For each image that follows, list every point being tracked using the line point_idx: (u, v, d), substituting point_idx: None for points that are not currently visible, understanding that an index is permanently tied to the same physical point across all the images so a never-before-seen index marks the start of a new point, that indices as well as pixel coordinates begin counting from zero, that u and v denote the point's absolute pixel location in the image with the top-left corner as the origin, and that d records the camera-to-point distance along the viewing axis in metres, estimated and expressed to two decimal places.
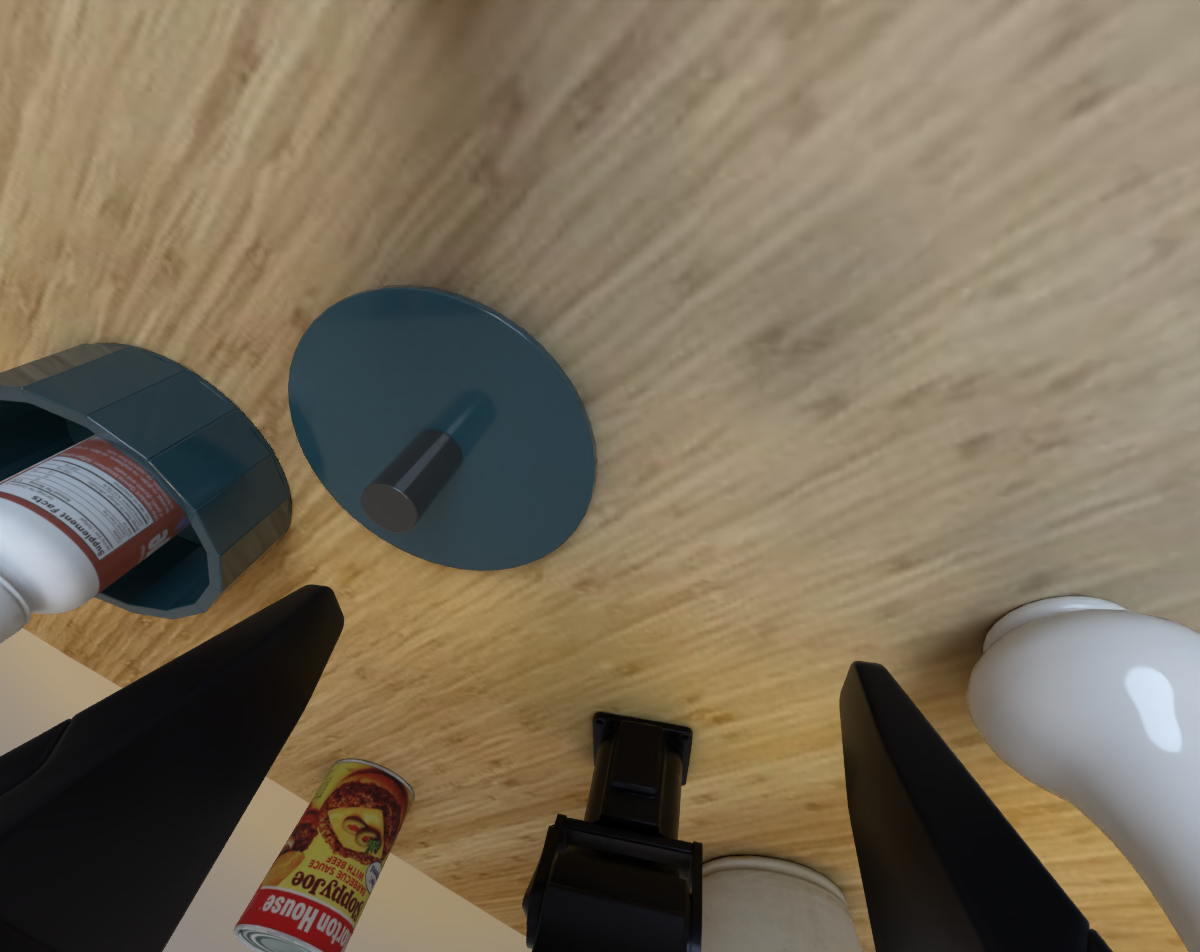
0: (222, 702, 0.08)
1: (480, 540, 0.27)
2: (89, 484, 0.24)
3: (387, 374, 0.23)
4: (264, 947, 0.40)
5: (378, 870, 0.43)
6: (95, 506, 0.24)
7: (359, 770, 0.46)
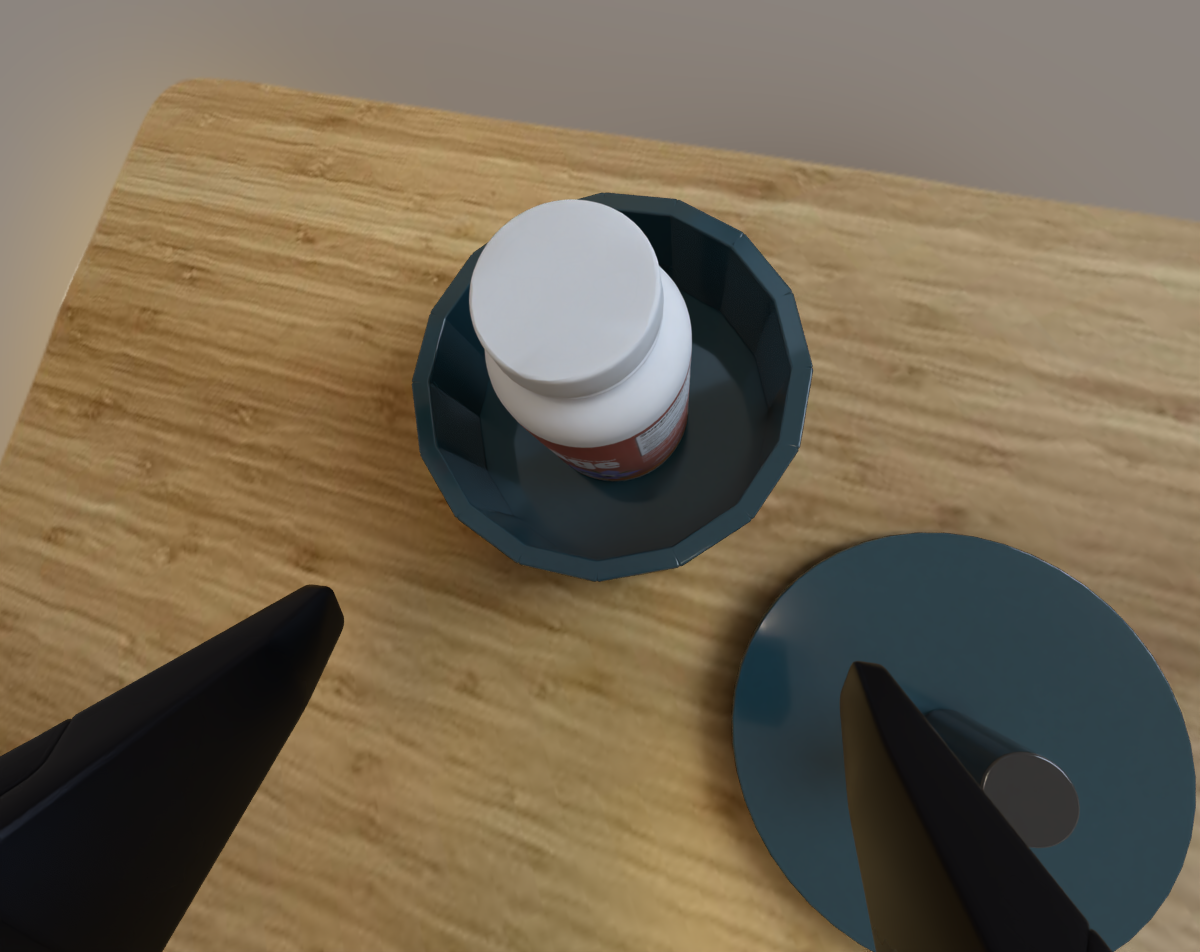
0: (222, 702, 0.08)
1: (848, 858, 0.19)
2: (689, 380, 0.18)
3: (1008, 645, 0.19)
4: None
5: None
6: (682, 401, 0.17)
7: None
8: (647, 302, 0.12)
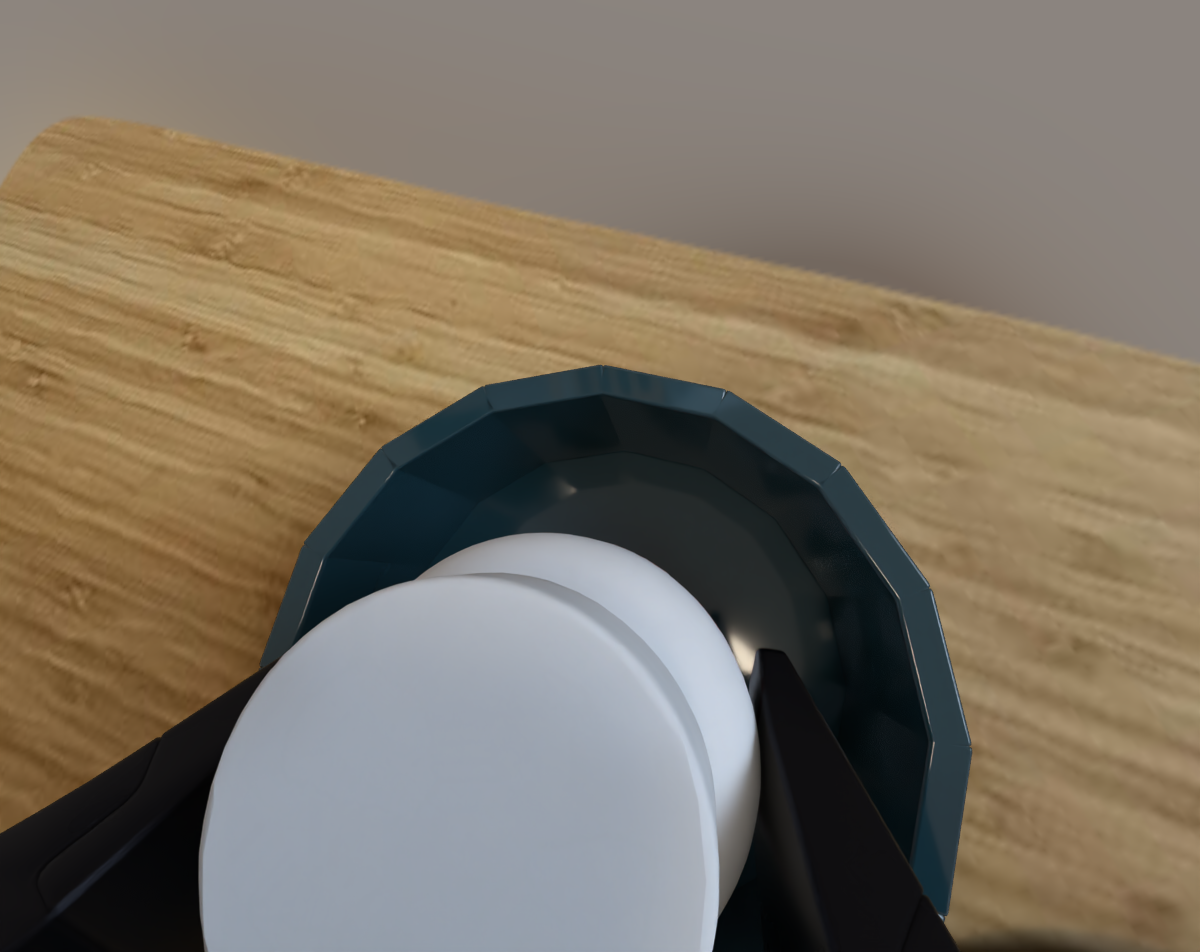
0: None
1: None
2: None
3: None
4: None
5: None
6: None
7: None
8: None
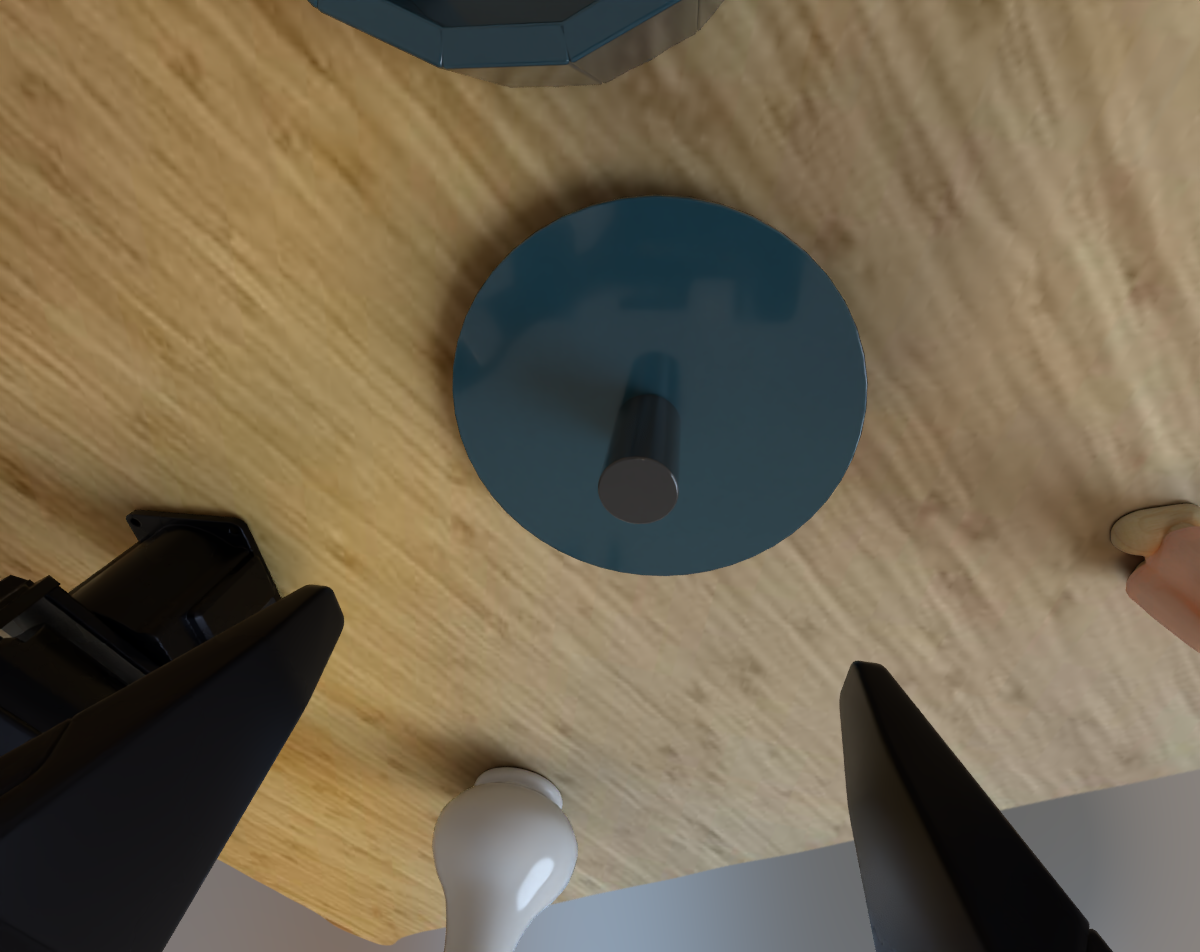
0: (222, 702, 0.08)
1: (515, 448, 0.21)
2: None
3: (759, 386, 0.18)
4: None
5: None
6: None
7: None
8: None
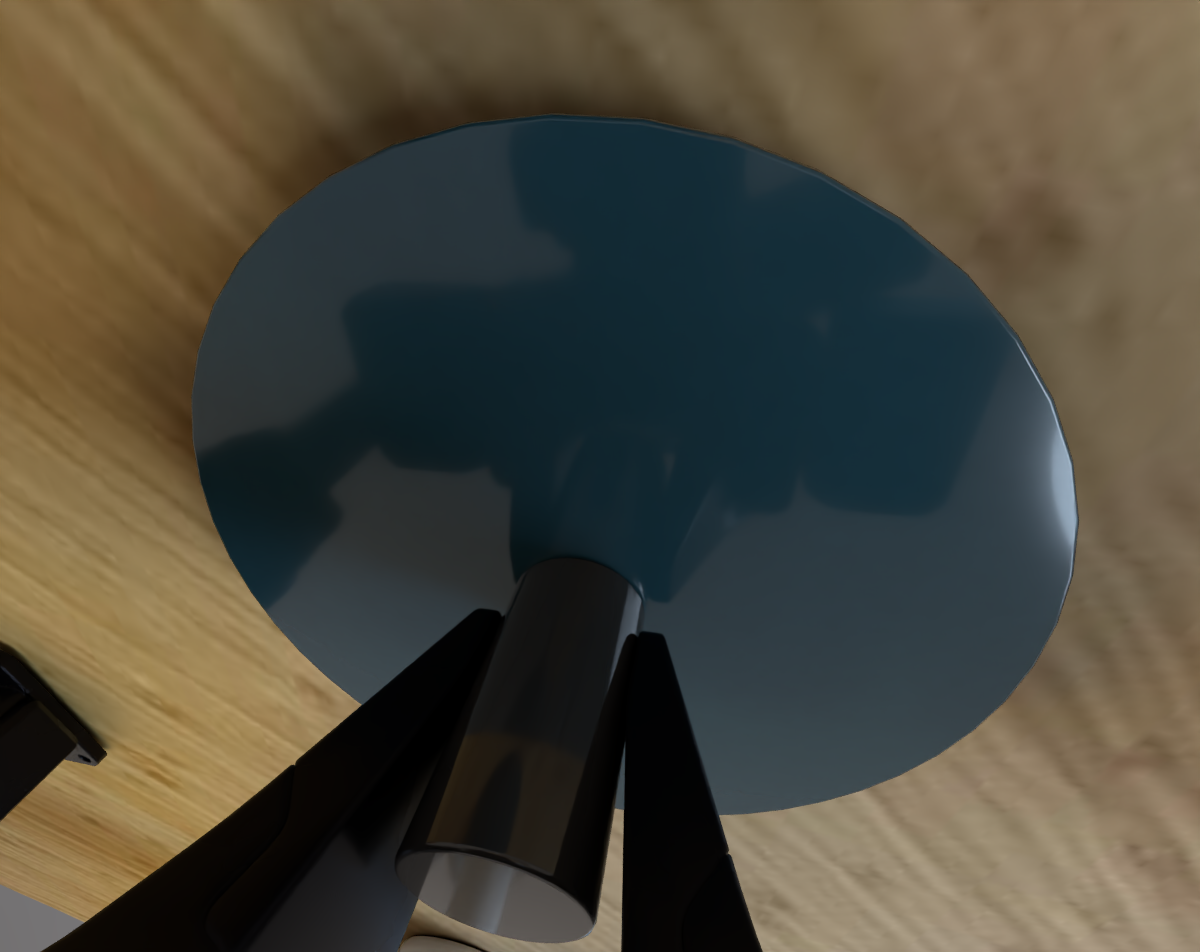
0: (430, 741, 0.07)
1: (346, 617, 0.11)
2: None
3: (812, 562, 0.08)
4: None
5: None
6: None
7: None
8: None
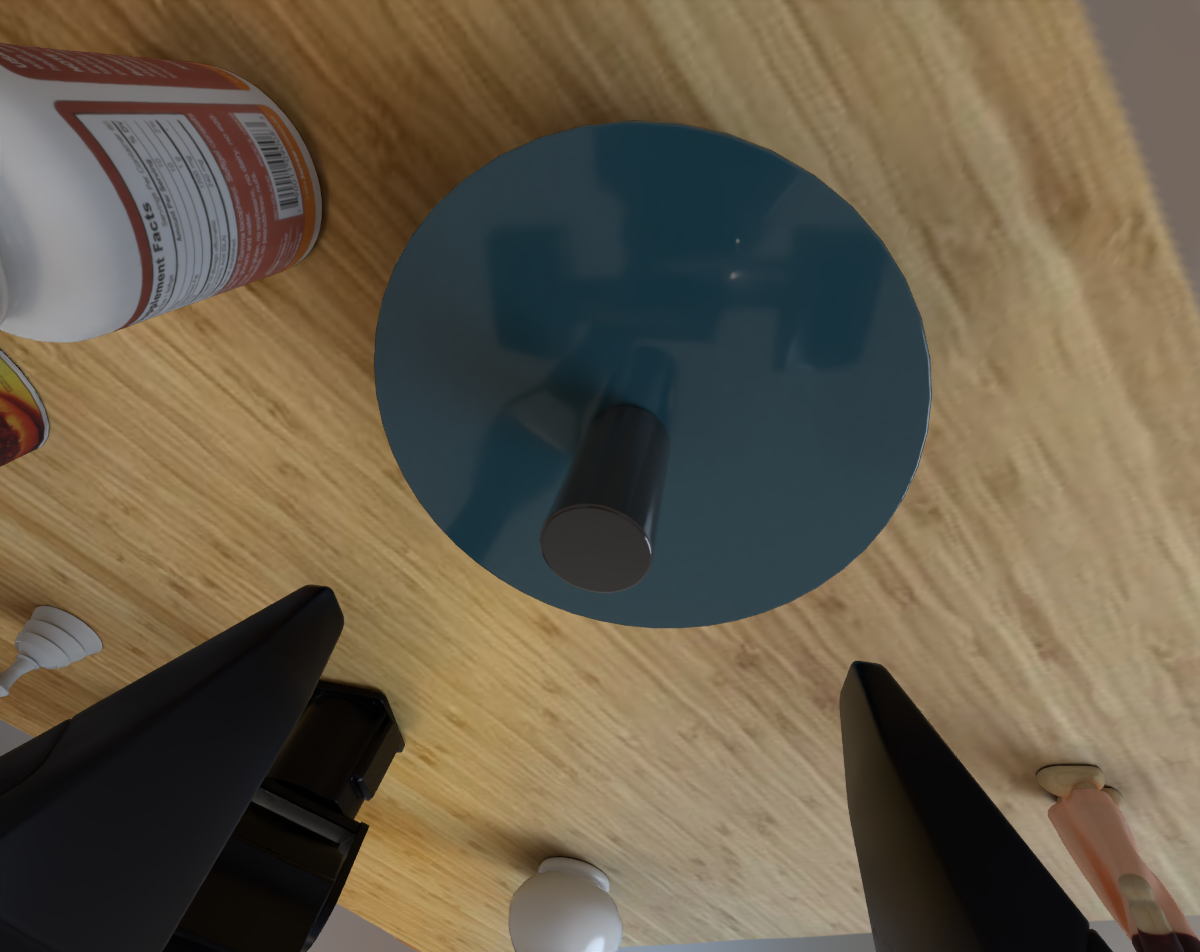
0: (222, 702, 0.08)
1: (460, 468, 0.16)
2: (211, 225, 0.14)
3: (777, 398, 0.13)
4: None
5: None
6: (196, 264, 0.14)
7: (18, 400, 0.26)
8: None
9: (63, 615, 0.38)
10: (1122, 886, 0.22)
